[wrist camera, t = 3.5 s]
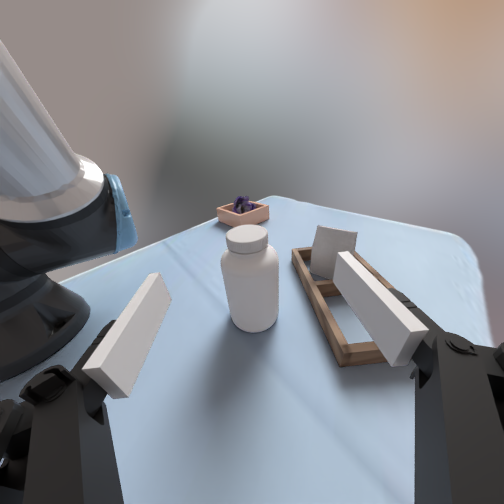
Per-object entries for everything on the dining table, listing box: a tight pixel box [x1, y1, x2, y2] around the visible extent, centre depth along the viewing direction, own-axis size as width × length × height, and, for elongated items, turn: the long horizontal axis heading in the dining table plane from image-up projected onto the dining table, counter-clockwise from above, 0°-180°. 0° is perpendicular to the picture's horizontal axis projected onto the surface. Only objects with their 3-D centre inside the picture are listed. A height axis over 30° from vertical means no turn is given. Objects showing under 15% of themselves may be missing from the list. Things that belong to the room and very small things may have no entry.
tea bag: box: [310, 225, 358, 280], centre depth 35 cm, size 4×7×10 cm, turn 52°
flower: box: [232, 196, 256, 215], centre depth 67 cm, size 9×9×10 cm
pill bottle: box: [221, 225, 279, 333], centre depth 27 cm, size 8×8×15 cm
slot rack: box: [292, 247, 412, 367], centre depth 32 cm, size 24×12×3 cm, turn 3°
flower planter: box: [217, 201, 269, 227], centre depth 67 cm, size 13×14×5 cm
